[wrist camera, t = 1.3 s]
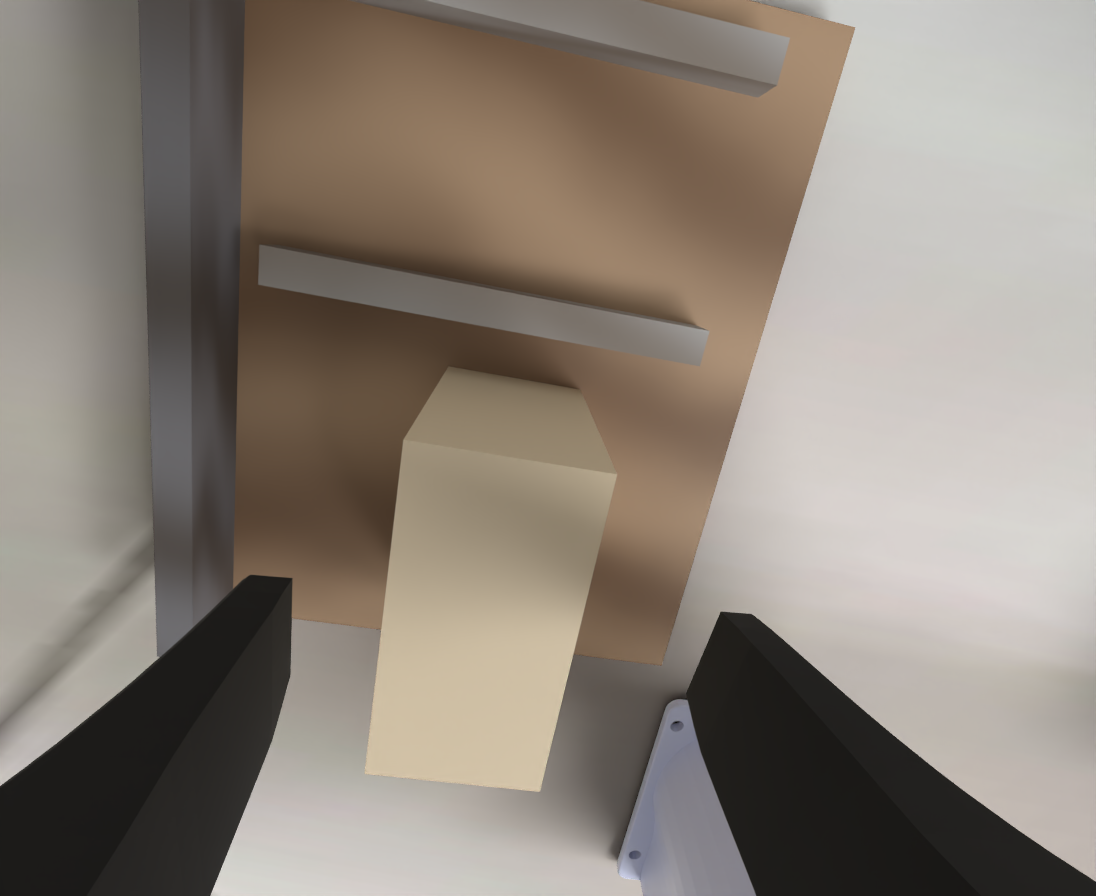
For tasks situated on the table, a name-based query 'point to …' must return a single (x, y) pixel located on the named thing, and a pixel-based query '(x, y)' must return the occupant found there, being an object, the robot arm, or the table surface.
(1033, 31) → the table surface
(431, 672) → the carton
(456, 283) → the shelf
